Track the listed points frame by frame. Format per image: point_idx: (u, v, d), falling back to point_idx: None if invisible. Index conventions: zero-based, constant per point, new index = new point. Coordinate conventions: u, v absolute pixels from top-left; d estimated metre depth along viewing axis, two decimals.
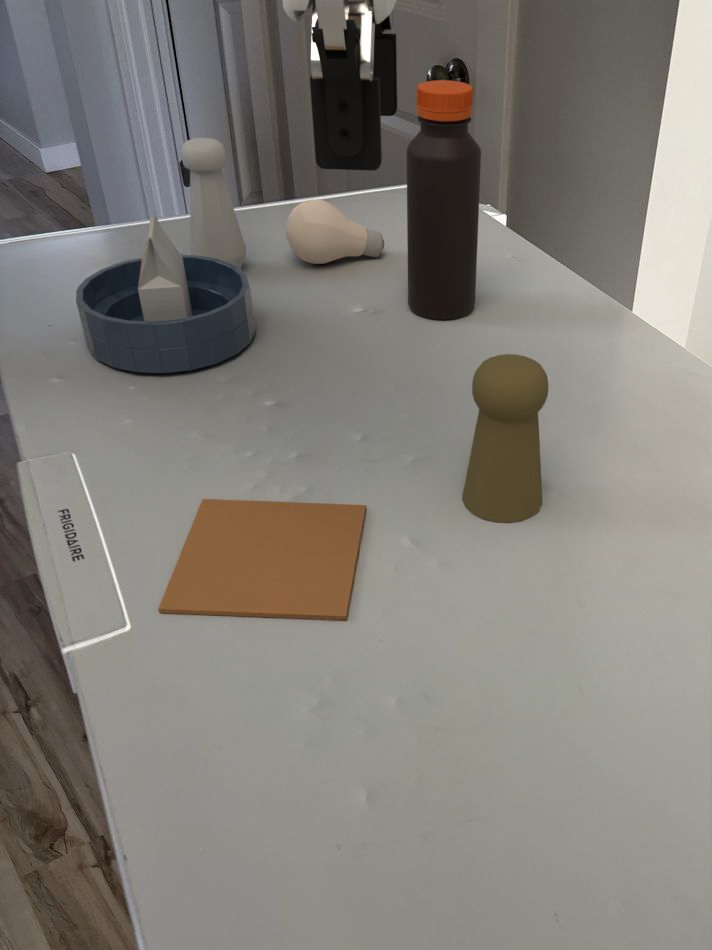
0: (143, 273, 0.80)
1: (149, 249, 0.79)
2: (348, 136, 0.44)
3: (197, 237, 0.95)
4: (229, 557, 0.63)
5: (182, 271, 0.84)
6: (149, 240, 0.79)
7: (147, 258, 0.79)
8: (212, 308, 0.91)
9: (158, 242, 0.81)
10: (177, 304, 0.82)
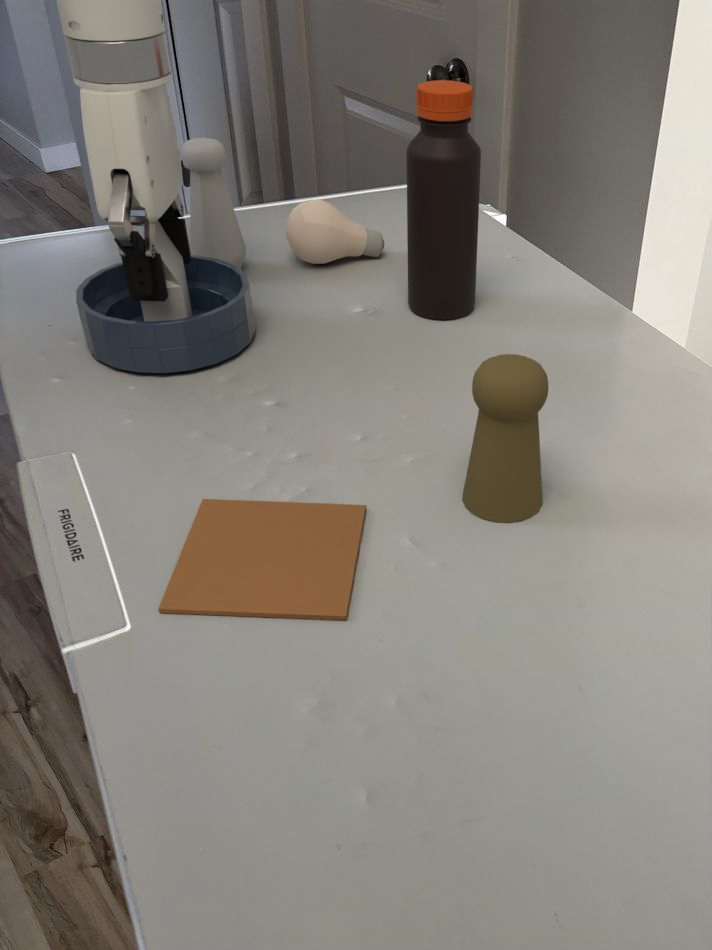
0: None
1: None
2: (145, 285, 0.79)
3: (197, 237, 0.95)
4: (229, 557, 0.63)
5: (182, 271, 0.84)
6: None
7: None
8: (212, 308, 0.91)
9: (158, 242, 0.81)
10: (177, 304, 0.82)
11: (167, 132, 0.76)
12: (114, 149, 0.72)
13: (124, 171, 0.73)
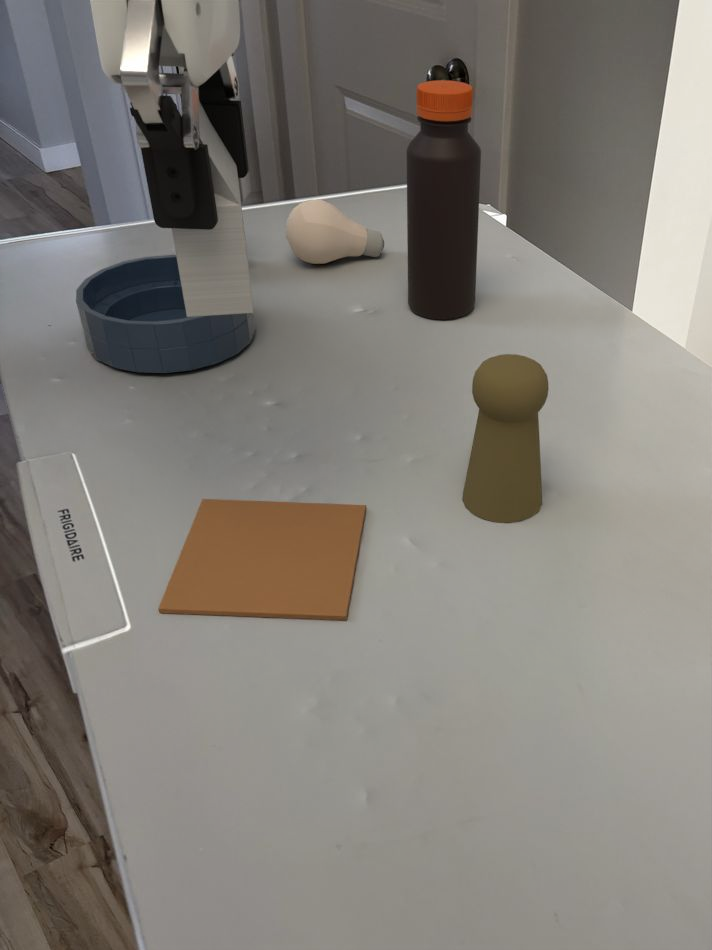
0: None
1: None
2: (180, 199, 0.47)
3: None
4: (229, 557, 0.63)
5: (238, 185, 0.52)
6: None
7: None
8: None
9: (203, 130, 0.48)
10: (233, 237, 0.50)
11: None
12: None
13: None
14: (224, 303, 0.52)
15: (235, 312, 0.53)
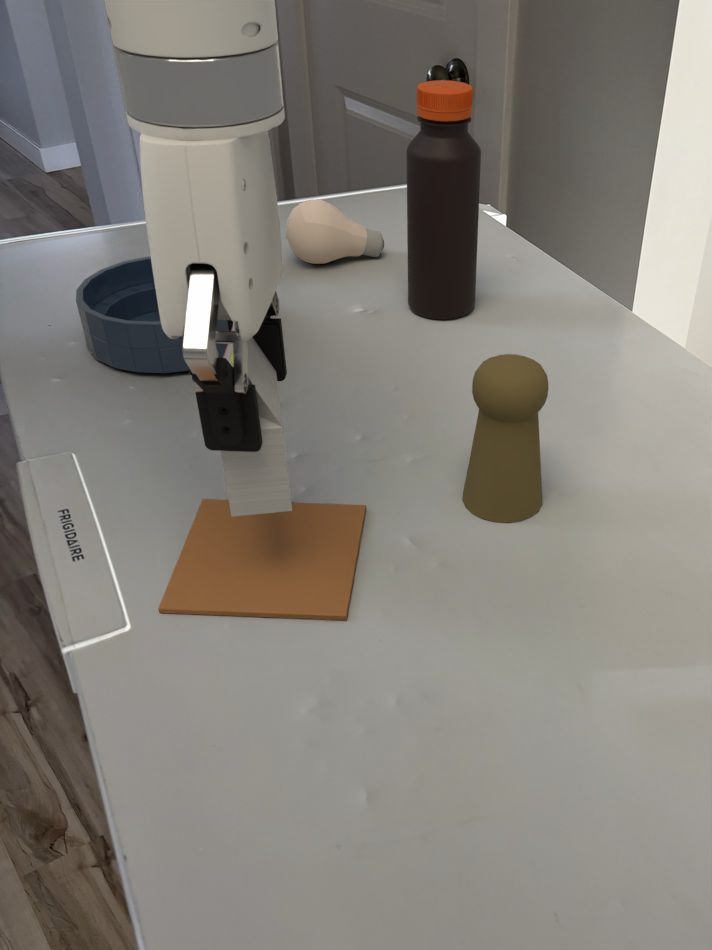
0: None
1: None
2: (229, 431, 0.51)
3: None
4: (229, 557, 0.63)
5: None
6: None
7: None
8: None
9: (249, 361, 0.53)
10: (275, 452, 0.54)
11: (270, 198, 0.48)
12: (194, 233, 0.44)
13: (207, 266, 0.45)
14: (266, 504, 0.57)
15: (275, 511, 0.57)
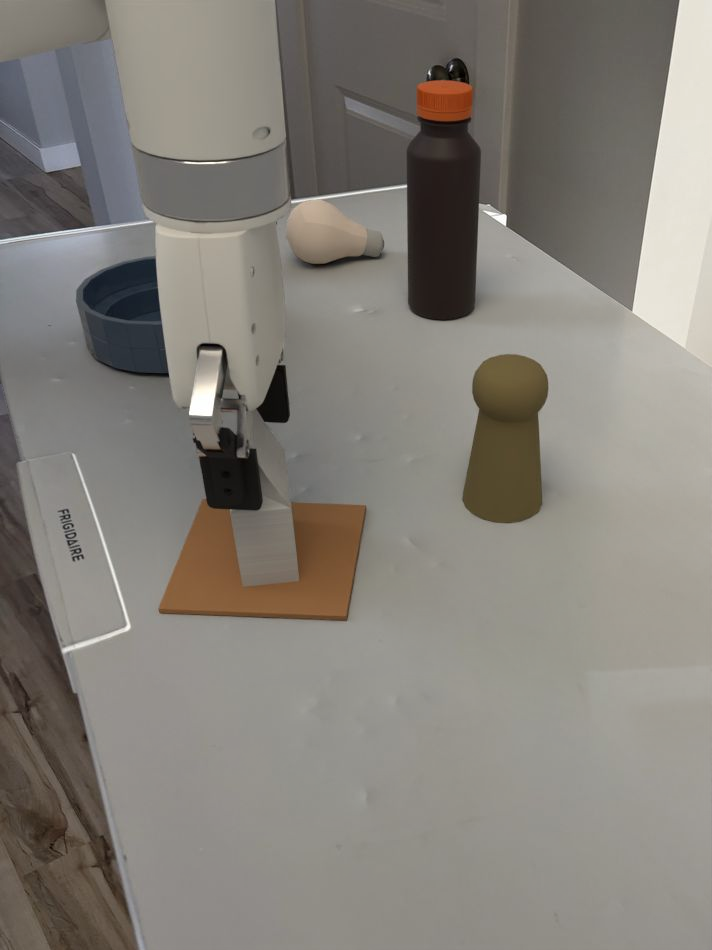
0: None
1: None
2: (231, 492, 0.53)
3: None
4: (229, 557, 0.63)
5: (287, 475, 0.60)
6: None
7: None
8: None
9: (259, 447, 0.57)
10: (284, 530, 0.58)
11: (276, 276, 0.51)
12: (205, 316, 0.47)
13: None
14: (275, 576, 0.60)
15: (284, 581, 0.61)
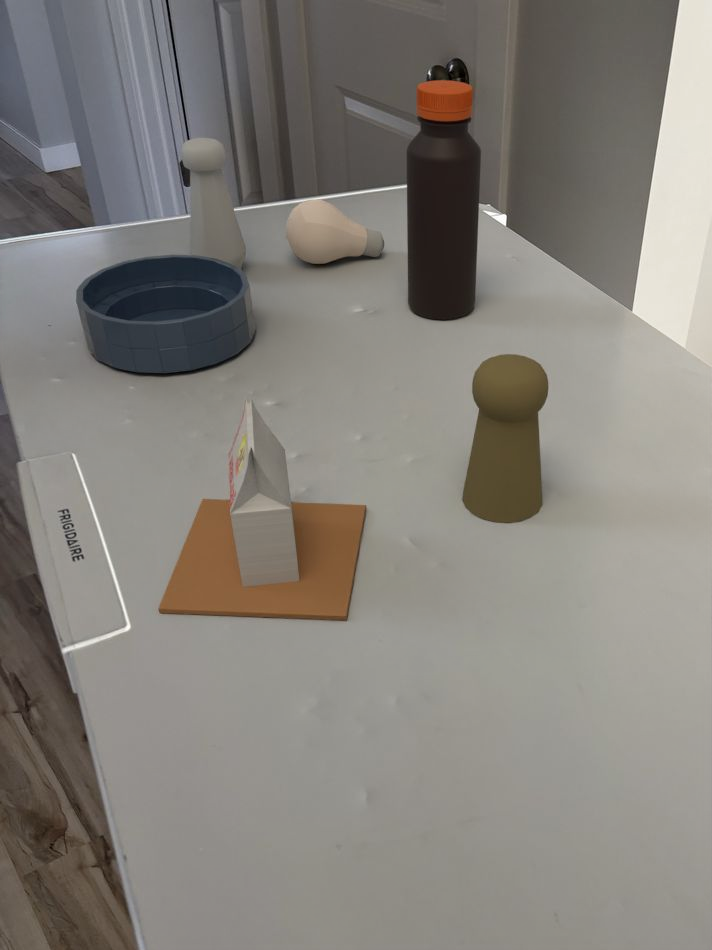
0: (239, 494, 0.56)
1: (250, 463, 0.55)
2: None
3: (197, 237, 0.95)
4: (229, 557, 0.63)
5: (287, 475, 0.60)
6: (250, 451, 0.55)
7: (246, 475, 0.55)
8: (212, 308, 0.91)
9: (259, 447, 0.57)
10: (284, 530, 0.58)
11: None
12: None
13: None
14: (275, 576, 0.60)
15: (284, 581, 0.61)
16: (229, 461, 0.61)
